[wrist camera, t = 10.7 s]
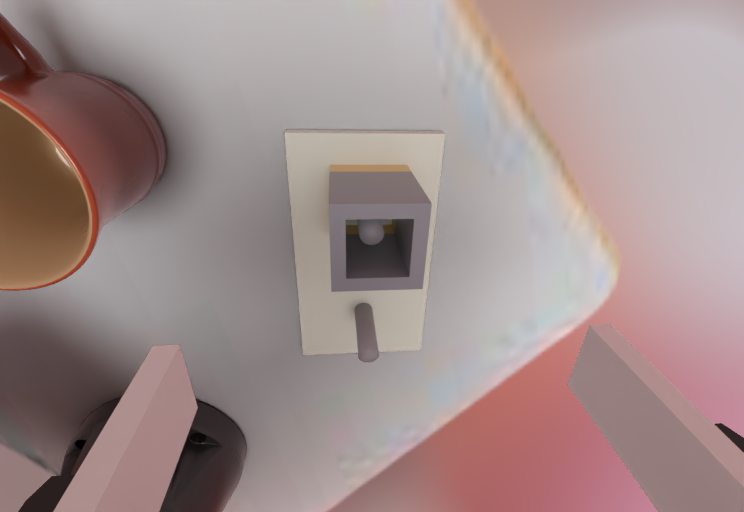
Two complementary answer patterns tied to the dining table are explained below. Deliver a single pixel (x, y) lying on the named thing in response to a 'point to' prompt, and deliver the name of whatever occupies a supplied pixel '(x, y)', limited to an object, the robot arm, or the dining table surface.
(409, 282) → the sleeve
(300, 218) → the pin board
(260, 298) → the dining table surface
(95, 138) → the mug
